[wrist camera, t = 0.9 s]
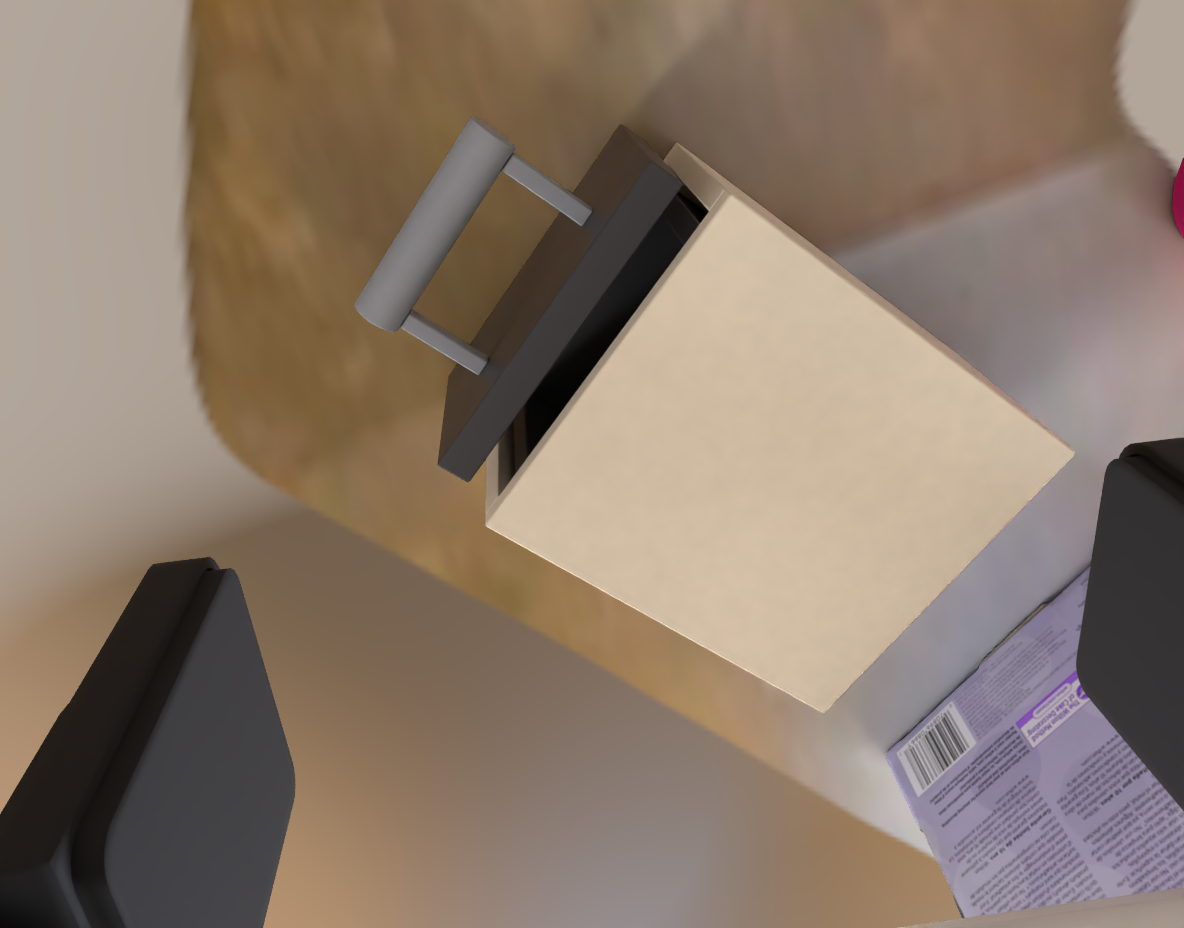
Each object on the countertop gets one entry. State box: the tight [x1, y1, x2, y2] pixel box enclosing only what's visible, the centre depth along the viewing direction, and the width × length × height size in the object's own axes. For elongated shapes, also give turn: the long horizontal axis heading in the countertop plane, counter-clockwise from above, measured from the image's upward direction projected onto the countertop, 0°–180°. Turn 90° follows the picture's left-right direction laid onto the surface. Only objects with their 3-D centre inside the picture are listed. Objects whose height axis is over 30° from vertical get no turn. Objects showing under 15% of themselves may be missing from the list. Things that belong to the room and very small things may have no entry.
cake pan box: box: [885, 566, 1184, 918], centre depth 40 cm, size 19×5×18 cm, turn 143°
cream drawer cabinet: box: [485, 143, 1075, 713], centre depth 36 cm, size 15×13×10 cm
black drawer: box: [355, 116, 708, 482], centre depth 34 cm, size 18×11×8 cm, turn 54°
